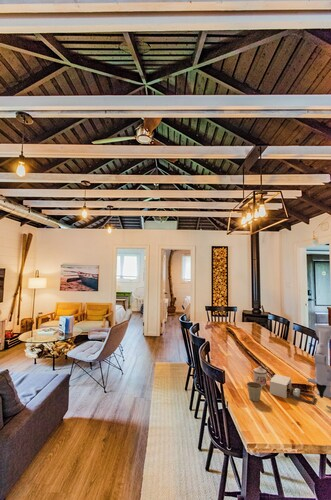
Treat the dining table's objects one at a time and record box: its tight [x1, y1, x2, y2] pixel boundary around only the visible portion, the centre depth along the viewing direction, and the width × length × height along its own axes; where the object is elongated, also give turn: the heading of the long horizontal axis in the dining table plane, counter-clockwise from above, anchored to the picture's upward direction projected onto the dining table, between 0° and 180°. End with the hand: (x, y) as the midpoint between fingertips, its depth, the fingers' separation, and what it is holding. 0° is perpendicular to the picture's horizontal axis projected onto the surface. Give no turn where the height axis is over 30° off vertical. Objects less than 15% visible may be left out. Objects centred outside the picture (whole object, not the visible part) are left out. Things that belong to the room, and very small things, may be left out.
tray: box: [287, 388, 316, 405], centre depth 166 cm, size 10×14×2 cm
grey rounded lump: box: [292, 389, 300, 398], centre depth 167 cm, size 4×4×4 cm
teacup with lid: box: [252, 365, 272, 387], centre depth 186 cm, size 12×9×12 cm
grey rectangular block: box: [269, 373, 292, 399], centre depth 174 cm, size 15×10×8 cm
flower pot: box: [246, 381, 263, 402], centre depth 164 cm, size 9×9×9 cm
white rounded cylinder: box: [293, 387, 301, 397], centre depth 170 cm, size 4×4×4 cm
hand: (321, 397), depth 160 cm, fingers closed
